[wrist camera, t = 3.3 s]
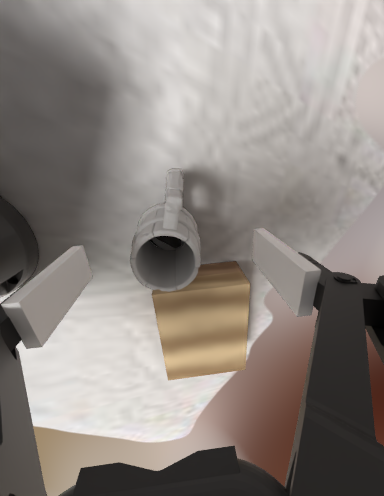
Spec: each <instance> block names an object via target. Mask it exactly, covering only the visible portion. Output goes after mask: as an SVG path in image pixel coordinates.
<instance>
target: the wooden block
mask: <svg viewBox="0 0 384 496" xmlns="http://www.w3.org/2000/svg"><path fill="white" fill-rule="evenodd" d="M249 296H250V283H249V281H248V279H247V278H246V276H245V275H244V273H243V272H242V270H241V269H240V267H239V265H238V264H237V262H236V261H233V262H223V263H214V264H205V265H200V267H198V273H197V275H196V277H195V279H194V280H193V281H192V282H191V283H190V284H188V285H187V286H186V287H184V288H182V289H180V290H178V289H177V290H176V291H170V292H167V291H161V290H160V289H156V290H153V292H152V298H153V303H154V308H155V313H156V319H157V324H158V329H159V334H160V340H161V345H162V350H163V355H164V361H165V366H166V371H167V376H168V380H174V379H182V378H189V377H196V376H203V375H210V374H217V373H224V372H232V371H239V370H245V365H246V348H247V331H248V313H249Z"/></svg>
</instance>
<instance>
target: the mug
mask: <svg viewBox="0 0 384 496" xmlns="http://www.w3.org/2000/svg"><path fill="white" fill-rule="evenodd" d="M183 179H184V173H183V171H182V169H179V168H173V169H170V170H168V172H167V176H166V192H165V200H166V202H165V203H162V204H157V205H155V206H153V207H151V208H149V209H148V210H147V211H146V212H144V213H143V215H142V217H141V218H140V220H139V223H138V227H137V231H136V233H135V235H134V238H133V241H132V252H131V256H130V257H131V258H130V263H131V267H132V270H133V273H134V275H135V277H136V278H137V280H138V281H139V282H140V283H141V284H142V285H145V287H148V288H150V289H152V290H156V289H160V290H161V291H167V292H170V291H176V290H177V289H178V290H180V289H182V288H184V287H186V286H187V285H188V284H190V283H191V282H192V281H193V280H194V279H195V277H196V275H197V273H198V267H200V263H201V259H200V250H201V246H200V238H199V235H198V230H197V223H196V222H195V220H194V218H193V216H192V215H191V214H190V213H189V212H188V211H187V210H186V209H185V208H183V207H182V205H183V199H182V196H183V186H184V180H183ZM157 236H173V237H176V238H179V239H181V241H182V245H181V246H180V247H177V248H176V249H175V248H174V247H172V246H170V245H168V244H166V243H164V242H162V241H160V240H158V239H156V238H154V237H157ZM150 239H151V240H153V241H154V242H155V243H156V244H157V245H158V246H159V247H160V248H159V247H157V246H156V245H154V244H153V243H152V242H151V241H150Z"/></svg>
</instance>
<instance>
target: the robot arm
mask: <svg viewBox="0 0 384 496" xmlns="http://www.w3.org/2000/svg"><path fill="white" fill-rule="evenodd" d="M252 261H253V262H254V263H255V264H256V266H257V267H258V268H259V269H260V271H261V272H262V273H263V274H264V276H265V277H266V278H267V279H268V281H269V282H270V283H271V284H272V286H273V287H274V288H275V289H276V291H277V292H278V293H279V294H280V296H281V297H282V298H283V299H284V301H285V302H286V303H287V305H288V306H289V307H290V308H291V309H292V311H293V312H294V313H295V314H296V316H297V317H299V316H308V315H311V314H312V310H313V306H314V307H315V308H316V309H317V310H318V311H319V312H318V316H317V320H316V325H315V332H314V338H313V342H312V348H311V353H310V359H309V364H308V369H307V375H306V380H305V385H304V391H303V396H302V402H301V406H300V412H299V417H298V422H297V427H296V433H295V438H294V443H293V449H292V454H291V458H290V463H289V468H288V472H287V477H286V482H285V487H284V486H283V485H282V484H281V483H279V482H278V481H277V480H276V479H275V478H274V477H273V476H272V475H270V474H269V473H267V472H266V471H265V470H263V469H262V468H260V467H258V466H256V465H255V464H252V463H250V462H247V461H245V460H241V459H237V456H236V451H235V446H229V447H222V448H215V449H209V450H202V451H197V452H195V453H193V454H191V455H190V456H187V457H186V458H184V459H182V460H180V461H178V462H176V463H174V464H172V465H170V466H168V467H167V468H165V469H163V470H160V471H153V470H149V469H144V468H140V467H136V466H131V465H127V464H123V463H113V464H106V465H99V466H93V467H85V468H81V470H80V473H79V476H78V479H77V482H76V485H74V486H72V487H71V488H69V489H68V490H66V491H64V492H63V493H62V494H60V495H59V496H384V446H383V445H381V444H380V443H378V442H377V440H376V437H375V430H374V418H373V407H372V397H371V386H370V375H369V364H368V353H367V342H366V331H365V328H366V330H367V332H368V334H369V336H370V338H371V340H372V342H373V344H374V346H375V348H376V350H377V352H378V354H379V356H380V358H381V360H382V362H383V364H384V276H380V277H379V278H378V280H377V283H376V284H367V283H361V282H360V280H358V279H357V278H356V277H354V276H352V275H349V274H345V273H340V272H331V271H330V270H328V269H327V268H325V267H324V266H323V265H321V264H319V263H318V262H317V261H315V260H314V259H312V258H311V257H310V256H308V255H306V254H303V253H300V252H298V253H297V252H296V251H294V250H293V249H292V248H290V247H289V246H288V245H286V244H285V243H283V242H282V241H281V240H279V239H278V238H277V237H275V236H274V235H272V234H271V233H270V232H268V231H267V230H266V229H264V228H257V229H254V235H253V253H252ZM37 263H38V246H37V242H36V239H35V236H34V234H33V232H32V230H31V228H30V227H29V225H28V223H27V222H26V221H25V219H24V218H23V217H22V216H21V215H20V214H19V212H18V211H17V210H16V209H15V208H14V207H12V206H11V205H10V204H9V203H8V202H6V201H5V200H4V199H2V198H1V197H0V297H3V296H5V295H7V294H9V293H11V292H13V291H14V290H15V289H17V288H18V287H19V286H20V285H22V284H23V283H24V282H25V281H27V280H28V279H29V278H30V277H31V275H32V274H33V273H34V271H35V269H36V266H37ZM92 277H93V275H92V272H91V269H90V266H89V263H88V260H87V257H86V253H85V250H84V247H83V245H81V246H72V247H71V248H70V249H69V250H67V251H66V252H65V253H64V254H62V255H61V256H60V257H59V258H57V259H56V260H55V261H54V262H53V263H51V264H50V265H49V266H48V267H46V268H45V269H44V270H43V271H41V272H40V273H39V274H38V275H37V276H35V277H34V278H33V279H32V280H30V281H29V282H28V283H27V284H25V285H23V286H22V287H20V288H19V289H18V290H17V291H16V292H14V293H13V294H12V295H10V297H8V298H7V299H6V300H4V301H3V302H2V303H1V304H0V496H47V494H46V491H45V487H44V482H43V477H42V471H41V466H40V461H39V456H38V451H37V445H36V440H35V435H34V429H33V424H32V419H31V414H30V408H29V403H28V398H27V393H26V387H25V382H24V377H23V372H22V366H21V361H20V356H19V352H18V350H17V348H16V345H17V344H18V343H19V342H20V341H21V340H22V342H23V344H24V345H25V347H26V349H29V348H37V347H43V345H44V344H45V342H46V341H47V340H48V338H49V337H50V335H51V334H52V333H53V331H54V330H55V329H56V327H57V326H58V324H59V323H60V322H61V320H62V319H63V317H64V316H65V315H66V313H67V312H68V311H69V309H70V308H71V306H72V305H73V304H74V302H75V301H76V299H77V298H78V297H79V295H80V294H81V292H82V291H83V290H84V288H85V287H86V286H87V284H88V283H89V281H90V280H91V279H92Z"/></svg>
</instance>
